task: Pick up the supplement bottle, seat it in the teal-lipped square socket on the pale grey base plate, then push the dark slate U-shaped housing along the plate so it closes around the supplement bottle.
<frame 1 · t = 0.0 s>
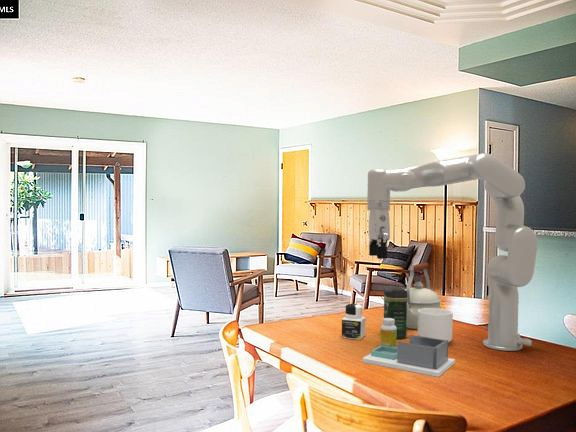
hand: (377, 257, 178), 31 cm above the table, tool pointing down, fingers open, 9 cm apart
coffee jar: (394, 336, 196), on the table
kettle: (416, 326, 212), on the table
medicine bottle: (353, 337, 194), on the table
handleless ceramic cup: (434, 343, 188), on the table
housing: (422, 351, 161), point 4 cm above the table, slide at 0.0 cm
supplement bottle: (388, 347, 181), on the table
base plate: (408, 362, 164), on the table
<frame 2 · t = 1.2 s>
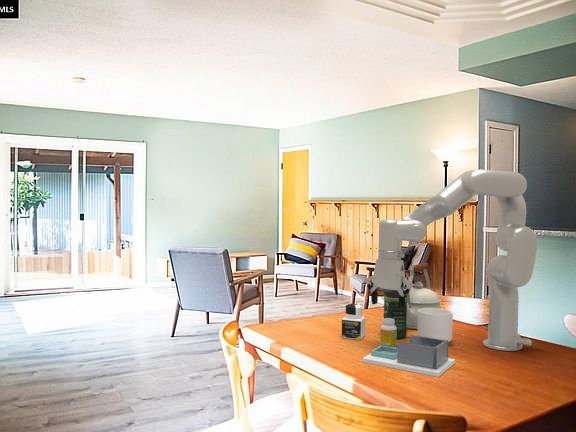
hand: (387, 305, 180), 14 cm above the table, tool pointing down, fingers open, 9 cm apart
nothing on the table moved.
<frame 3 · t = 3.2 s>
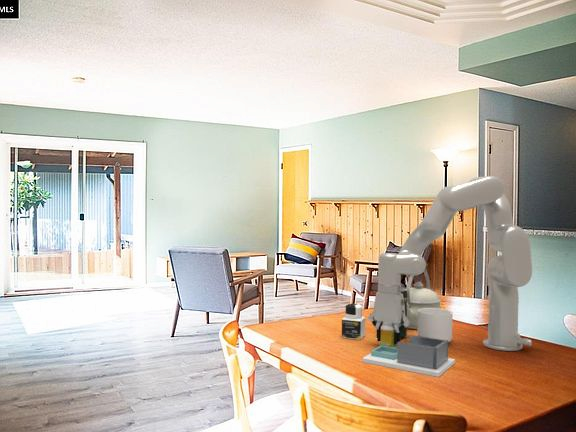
hand: (388, 341, 181), 2 cm above the table, tool pointing down, fingers closed on supplement bottle, 5 cm apart
supplement bottle: (388, 347, 181), on the table, touching gripper
everything else where it was.
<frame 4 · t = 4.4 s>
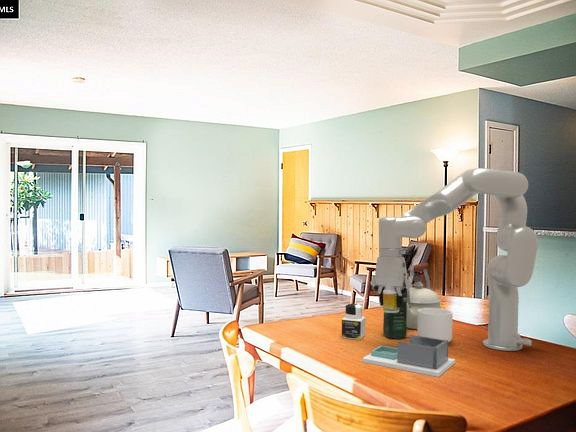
hand: (391, 305, 180), 14 cm above the table, tool pointing down, fingers closed on supplement bottle, 5 cm apart
supplement bottle: (391, 312, 181), point 12 cm above the table, touching gripper
everything else where it was.
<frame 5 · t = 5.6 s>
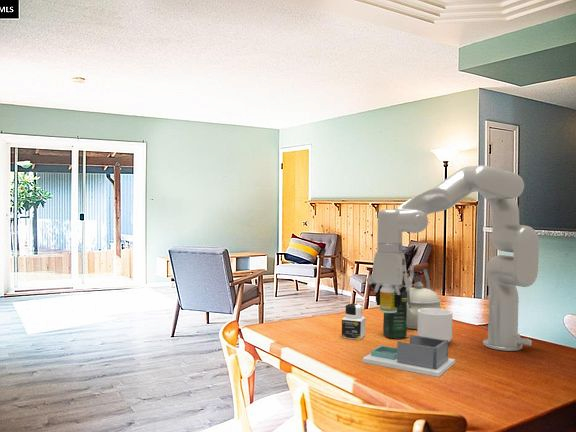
hand: (388, 305, 167), 17 cm above the table, tool pointing down, fingers closed on supplement bottle, 5 cm apart
supplement bottle: (388, 312, 167), point 15 cm above the table, touching gripper
everything else where it was.
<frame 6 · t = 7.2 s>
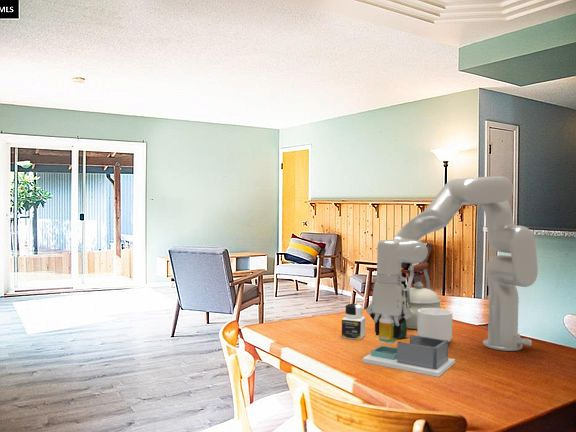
hand: (387, 335, 167), 7 cm above the table, tool pointing down, fingers closed on supplement bottle, 5 cm apart
supplement bottle: (387, 342, 167), point 5 cm above the table, touching gripper
everything else where it was.
when the fingers open (4 cm above the table, at t = 8.7 s): supplement bottle stays where it is, resting on base plate.
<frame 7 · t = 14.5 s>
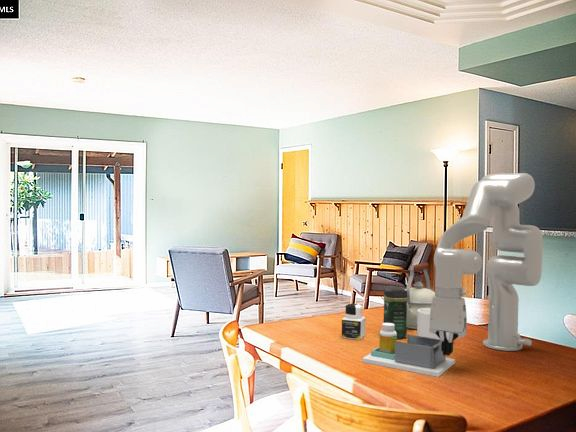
hand: (447, 354, 157), 5 cm above the table, tool pointing down, fingers closed
housing: (420, 350, 162), point 4 cm above the table, slide at 0.8 cm, touching gripper
supplement bottle: (387, 355, 168), point 1 cm above the table, touching base plate
everything else where it was.
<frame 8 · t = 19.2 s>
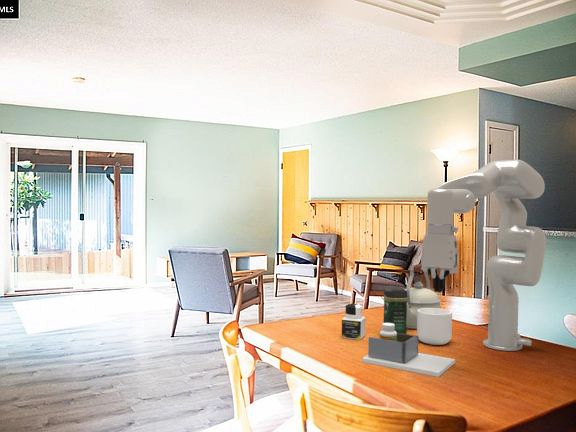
hand: (438, 291, 158), 23 cm above the table, tool pointing down, fingers closed
housing: (393, 346, 166), point 4 cm above the table, slide at 9.5 cm
everything else where it was.
at the end: supplement bottle 0.1 cm from the target spot, point 1.1 cm above the table; housing slide at 9.5 cm; handleless ceramic cup moved 0.4 cm from its start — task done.
